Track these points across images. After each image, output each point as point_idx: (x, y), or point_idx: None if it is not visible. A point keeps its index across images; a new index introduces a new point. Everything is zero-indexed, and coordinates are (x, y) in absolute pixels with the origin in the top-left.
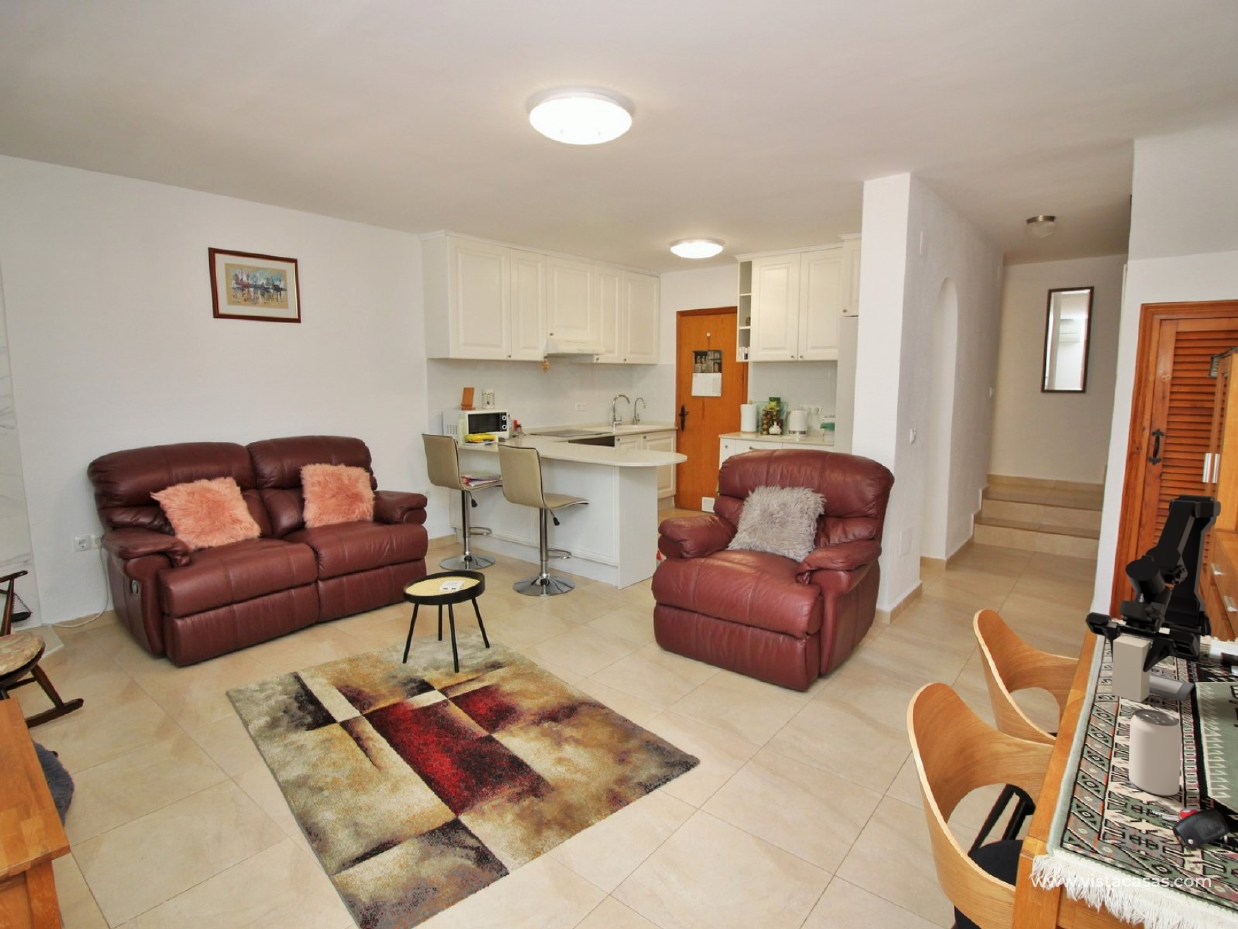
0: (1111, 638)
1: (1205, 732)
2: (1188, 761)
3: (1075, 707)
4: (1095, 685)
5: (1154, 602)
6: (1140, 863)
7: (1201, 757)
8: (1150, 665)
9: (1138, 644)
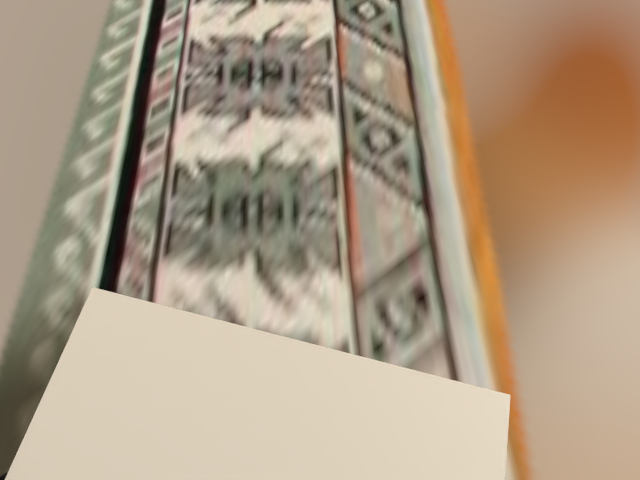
0: None
1: (103, 197)
2: (178, 8)
3: (469, 142)
4: None
5: None
6: None
7: (147, 41)
8: None
9: (119, 428)
